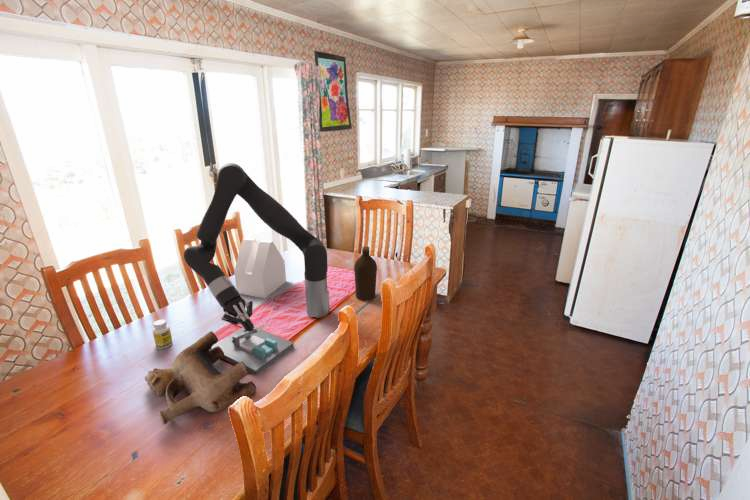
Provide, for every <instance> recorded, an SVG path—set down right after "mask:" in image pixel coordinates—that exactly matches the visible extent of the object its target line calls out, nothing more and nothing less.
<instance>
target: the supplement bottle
mask: <svg viewBox="0 0 750 500" xmlns="http://www.w3.org/2000/svg"><path fill="white" fill-rule="evenodd" d="M152 326H153V329H152V334H153V339H154V344H155V347H156V348H157V349H160V350H161V349H167V348H169V347H170V346H171V345H172V344H173V338H172V333H171V329H170V326H169V324H167V320H166V319H158V320H156V321H154V322H153V325H152Z"/></svg>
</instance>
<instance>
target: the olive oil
mask: <svg viewBox="0 0 750 500" xmlns="http://www.w3.org/2000/svg"><path fill="white" fill-rule="evenodd" d="M361 249H362V250H361V255H360V256H359V257H358V259H357V260H355V263H354V266H353V269H354V271H353V272H354V283H355V286H354V287H355V290H354V291H355V298H356V299H357V300H359V301H365V300H368V301H372V300H373V298H374V297H375V298H376V288H377V274H378V272H377V271H378V266H377V261H376V260H375V259H374V258H373V257H372V256H371V255H370V247H369V246H362V248H361ZM375 298H374V299H375Z"/></svg>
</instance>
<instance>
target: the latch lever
mask: <svg viewBox="0 0 750 500" xmlns="http://www.w3.org/2000/svg"><path fill="white" fill-rule="evenodd" d="M255 327H256V328H254V329H253V330H251V331H249V332H248V331H247V332H245V333H243V334H241V335H240V336H239V340H240V339H242V338H244V337H247V336H249V335H252V334H254V333H257V332H259V331H260V330H264V329H265V326H264V324H262V325H259V326H255Z"/></svg>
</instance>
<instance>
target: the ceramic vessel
mask: <svg viewBox="0 0 750 500" xmlns="http://www.w3.org/2000/svg"><path fill="white" fill-rule="evenodd" d="M217 342H219V339H218V337H217V335H216V334H215V333H214V332H213V331H208V332H207V333H206V334H205V335H204V336H202V337H200V338H199V339H198V340H196V341H195V342H194V343H192V344H191V345H190V346H188V347H186V348H184V349H183V350H182V351H180V352H179V353H178V354H177V356H176V357H175V358H174V360H173V363H172V364H171V366H170V367H169V368H165V369H162V368H161V369H160V368H153V369H152V370H148V372H147V375H146V376H145V377H144V380H145V382H146V384H147V386H148V387H149V389H150V390H151V391H154V392H155V393H156V394H157V396H158V397H163V396H164V395H165V398H166V399H165V401H166V403H167V406H168V407H167V408H165V409H162V410H160V411H159V412H158V414H159V417H160V420H161V423H162V424H163V425H166V424H168V422H170V421H172V420H174V419H175V418H177V417H181V415H183V414H186V413H188V412H189V411H191V410H193V409H195V408H198V407H200V408H202V409H204V410H205V411H208V412H210V413H214V412H220V411H221V410H224V409H225V408H228V407H229V406H232V405H234V404H233V403H234V402H235V401H236V400H237V399H239V398H240V397H242V396H247V398H248V397H249V396H251V395H253V394H256V393H257V392H256V391H257V387H256V384H255V383H254V382H253V381H252V380H251V381H247V382H244V383H242V382H241V380H242V379H244V378H245V377H246V376H248V375H249V374H250V372H249V371H248V369H247V367H246V366H245V364H244V363H243V362H240V363H238V364H237V365H235V364H234V366H232V367H230V368H229V369H227V370H226V371H224V372H221V371H220V370H219V369H217V368H216V367H215V365H214V364H215V363H216V362H218V361H219V360H221V359H223V357H224V352H223V350H222V349H221V348H220V347H219V346H216V347H215V348H213V349H211V350H209V349H210V348H211V347H212V345H214V344H216V343H217ZM183 391H187V393H188V394H189V395H188V396H187V397H185V398H182V399H181V400H179V401H177V400H175V399H176V397H177V396H178V395H179V394H181V392H183ZM231 404H232V405H231Z"/></svg>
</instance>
